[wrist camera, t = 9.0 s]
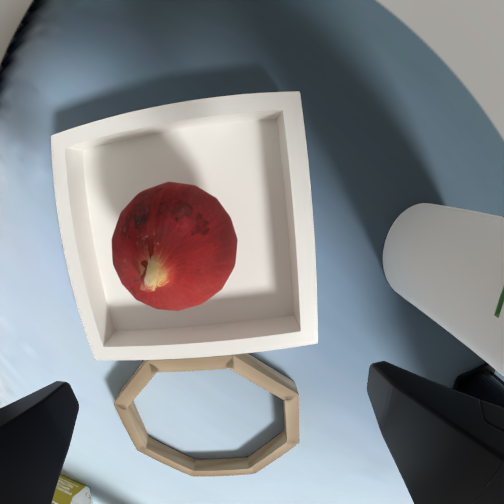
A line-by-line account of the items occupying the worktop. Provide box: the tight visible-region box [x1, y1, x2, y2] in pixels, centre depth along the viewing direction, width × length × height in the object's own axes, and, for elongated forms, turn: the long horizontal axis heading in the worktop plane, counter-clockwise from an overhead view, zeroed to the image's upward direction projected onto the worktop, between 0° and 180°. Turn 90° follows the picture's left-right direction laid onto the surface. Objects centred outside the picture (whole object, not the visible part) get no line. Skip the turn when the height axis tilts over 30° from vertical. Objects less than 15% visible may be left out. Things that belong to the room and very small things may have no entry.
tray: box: [51, 91, 318, 360], centre depth 16 cm, size 14×14×3 cm
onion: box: [112, 182, 238, 311], centre depth 13 cm, size 6×6×8 cm
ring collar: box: [114, 353, 299, 476], centre depth 20 cm, size 14×14×2 cm
